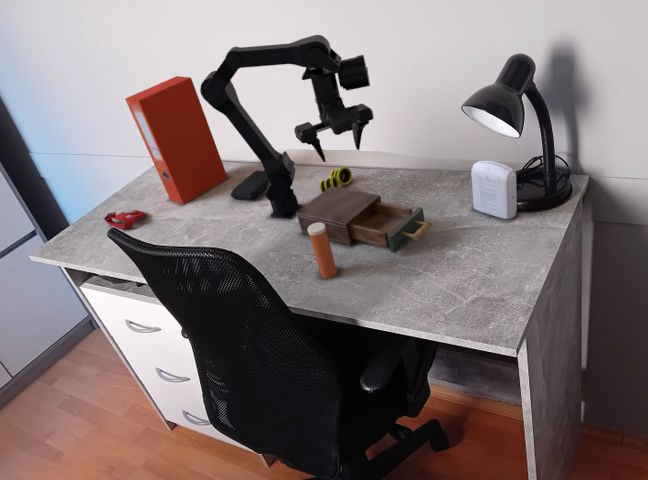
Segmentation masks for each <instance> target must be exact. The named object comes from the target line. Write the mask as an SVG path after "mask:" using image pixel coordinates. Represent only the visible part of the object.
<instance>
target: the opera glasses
mask: <svg viewBox="0 0 648 480" xmlns="http://www.w3.org/2000/svg"><path fill="white" fill-rule="evenodd" d="M352 179H353V173H352V170H351V169H350V168H349V167H347V166H341V167H340V168H337V169H333V170H332V171H331V172H330V175H329V177H328V178H326V179H324V180H320V182H319V190H320V192H321V194H322V193H323V192H324V191H326V190H327V189H328V188H330V187H331V186H333V187H338V188H341V185H342V186H346V185H347V186H348V185H349V184H350V183H351V181H352Z"/></svg>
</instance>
